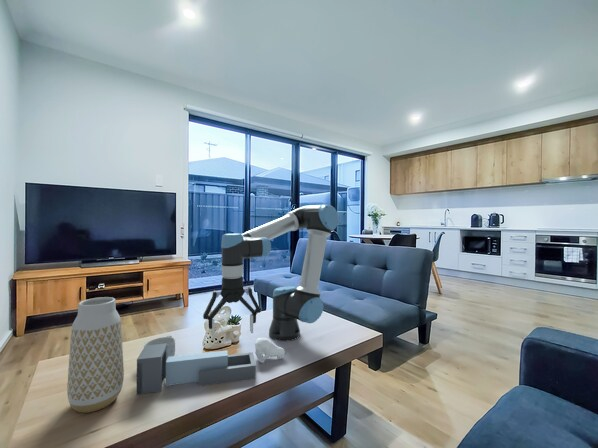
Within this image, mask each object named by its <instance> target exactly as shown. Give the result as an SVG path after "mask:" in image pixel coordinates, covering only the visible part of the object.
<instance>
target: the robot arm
mask: <svg viewBox="0 0 598 448" xmlns="http://www.w3.org/2000/svg"><path fill="white" fill-rule="evenodd" d="M339 220H340V219H339V214H338V212H337V209H336V207H334V206H332V205H330V204H324V203H323V204H311V205H310V204H309V205H303V206H300V207H298V208H295V209H293V210H291V211H288V212H286V214H285V215H284V216H282V217H280V218H276V219H274V220H272V221H270V222H269V221H268V222H267V223H265V224H263V225H260V226H258V227H255V228H253V229H251V230H248V231H245V232H244V233H243V232H242V233H224V234H223V235H221V242H220V243H221V245H220V247H221V290H220V291H219V290H218V291H217V290H215V289H214V290H213V291H212V294H211V295H212V296H211V298H210V300H209V301H208V302H209V303H208V305H207V307H206V308H205V310H204V312H203V315H202V318H203V319H204V320H208V329H209V330H211V339H212V340H214V339H215V336H216V335H215V333H216V332H215V329H216V328H215V327H216V326H215V322H216V321H215V317H216V316H217V314H218V313H219V312H220V311H221V309H222V308H223V306H225V305H226V304H227V303H228V304H232V303H238V302H240V303H241V304H243V306H244V307H245V308H246V309H247V310H248V311H249V312H250V313H249V332H250V333H251V334H254V324H256V322H257V314H259V313H262V309H261V308H260V306H259V303H258V302H257V300H256V298H255V297H254V294H253V289H252V287H247V288H244V259H245V260H246V259H253V258H262V257H266V256H268V255H270V253H271V251H272V243H271V240H274V239H276V238H277V237H280V236H282V235H284V234H286V233H289V232H291V231H292V232H295V231H297V230H298V231H299V230H301V229H304V230H305V229H306V232H307V233H308V238H307V243H306V249H305V254H304V259H303V265H302V271H301V275H300V276H301V277H300V281H299V285H298V286H293V285H292V286H290V285H289V286H280V287H276V288H274V290H273V292H272V320H271V323H270V326H269V329H268V336H269V338H271V339H272V340H275V341H280V342H281V341H282V342H283V341H284V342H286V341H287V340H289V341H293V340H292V339H294V340H296V339H298V338H299V337H300V336H301V329H300V326H299V322H298V321H300V322H302V323H306V324H314V323H315V322H317V321H318V320H319V319H320V317H321V316H322V314H323V311H324V303H323V299H321V292H320V290H319V286H320V279H321V274H322V273H321V272H322V267H323V263H324V256H325V250H326V246H327V239H328V238H329V237H330V236H331V235H332V231H334V230H336V228H337V227H338V226H339ZM245 293H246V295H248V297H249V298H250V301H251V302H252V303H253V306H254V308H255V309H254V308H253V307H252V306H251V305H250V303H248V301H247V300H246V299H245V298H244V297H243V296H244V295H245ZM219 296H220V297H221V299H220V301H219V302H218V304H216V306H215V307H214V304H215V303H216V300H217V298H219ZM213 307H214V308H213ZM212 309H213V310H212ZM299 335H300V336H299ZM298 336H299V337H298ZM297 337H298V338H297ZM295 338H296V339H295Z"/></svg>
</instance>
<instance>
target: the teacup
mask: <svg viewBox="0 0 598 448" xmlns="http://www.w3.org/2000/svg"><path fill="white" fill-rule="evenodd" d="M175 342H176V339H175V338H174V337H172V335H169V334H168V335H166V336H164V337H163V336H162V337H157V338H155V339H152V340H151V339H150V340H149V341H147V342H146V343H144V345H143V348H144V347H145V345H155V344H165V343H167V358H168V357H170V356H176V343H175Z"/></svg>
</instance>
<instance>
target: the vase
mask: <svg viewBox="0 0 598 448" xmlns="http://www.w3.org/2000/svg"><path fill="white" fill-rule="evenodd" d="M116 307H117V306H116V298H114V297H113V296H112V297H111V296H110V297H109V296H104V297H103V296H102V297H101V296H100V297H94V298H89V299H84V300H81V301H80V302H78V305H77V315H76V317H75V319H74V321H73V322H72V324H71V333H70V340H69V341H70V342H69V343H70V344H69V356H68V357H69V359H68V370H67V371H68V372H67V383H66V385H67V386H66V387H67V390H66V392H67V394H66V395H67V400H68V403H69V405H70V407H71V408H72V409H73V410H74V411H76V412H77V413H84V414H85V413H93V412H96V411H99V410H102V409H104V408H106V407H107V406H109V405H111V404H112V403H113V402H114V401H115V400H116V399H117V397H118V396H119V395H120V393H121V391H122V389H123V386H124V378H125V377H124V376H125V373H124V371H125V368H124V366H125V365H124V350H123V348H124V347H123V331H122V329H123V328H122V318H121V316H120V314H119V312H118V310H117V309H116Z"/></svg>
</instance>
